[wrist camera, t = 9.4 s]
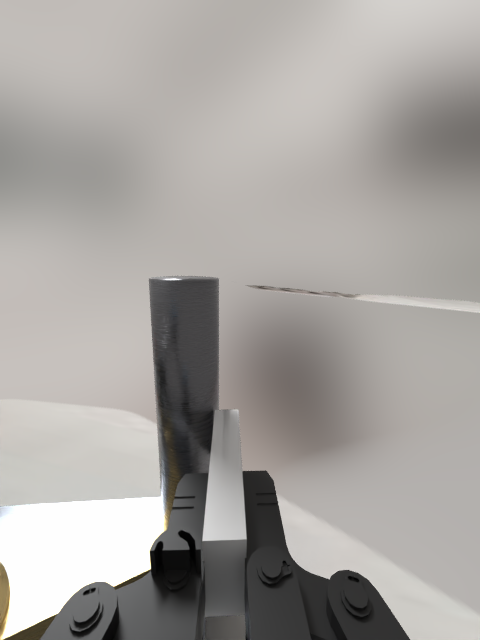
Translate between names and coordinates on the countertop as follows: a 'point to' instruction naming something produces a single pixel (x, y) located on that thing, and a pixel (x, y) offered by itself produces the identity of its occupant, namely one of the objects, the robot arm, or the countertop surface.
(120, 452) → the countertop surface
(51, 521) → the levelling plate
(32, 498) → the countertop surface
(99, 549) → the crank handle
